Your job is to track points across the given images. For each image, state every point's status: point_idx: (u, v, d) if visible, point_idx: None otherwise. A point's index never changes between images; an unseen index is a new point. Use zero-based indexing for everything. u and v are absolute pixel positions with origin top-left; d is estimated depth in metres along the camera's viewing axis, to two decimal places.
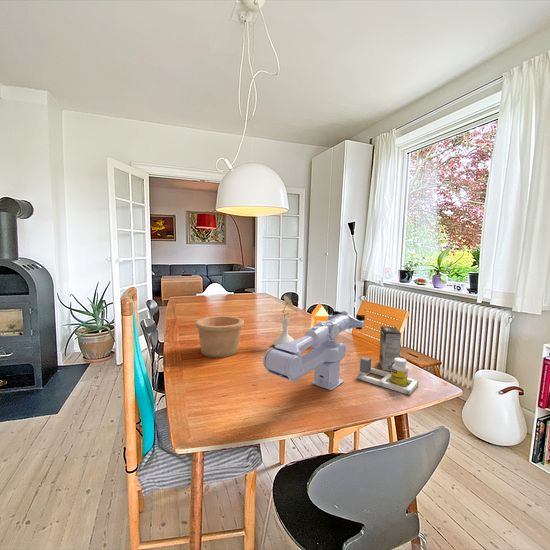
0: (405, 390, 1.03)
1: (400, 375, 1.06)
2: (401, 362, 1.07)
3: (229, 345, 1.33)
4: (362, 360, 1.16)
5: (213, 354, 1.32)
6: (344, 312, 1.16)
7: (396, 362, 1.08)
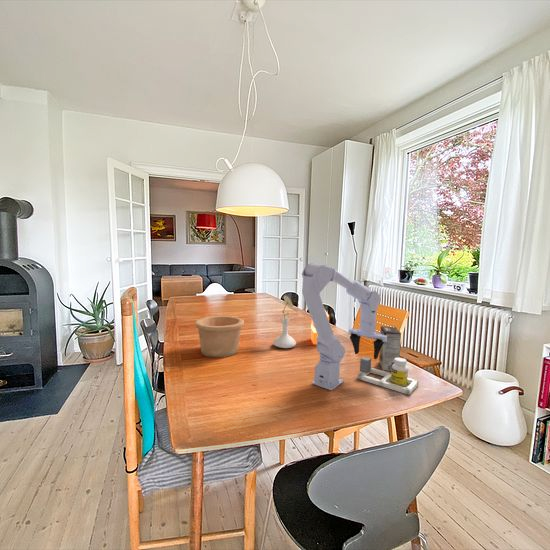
0: (405, 390, 1.03)
1: (400, 375, 1.06)
2: (401, 362, 1.07)
3: (229, 345, 1.33)
4: (362, 360, 1.16)
5: (213, 354, 1.32)
6: None
7: (396, 362, 1.08)
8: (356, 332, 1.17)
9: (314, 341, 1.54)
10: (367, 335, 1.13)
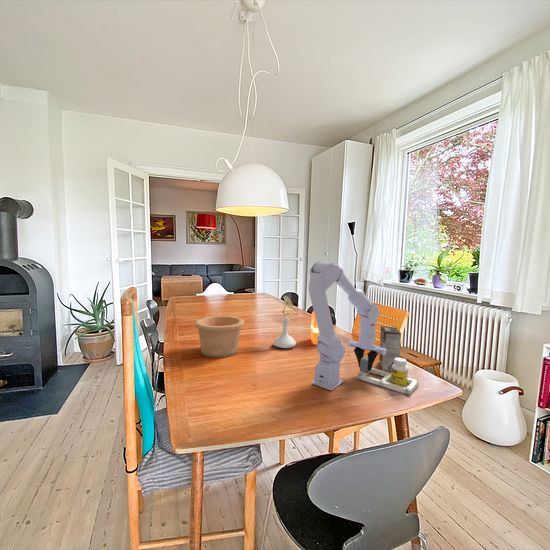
0: (405, 390, 1.03)
1: (400, 375, 1.06)
2: (401, 362, 1.07)
3: (229, 345, 1.33)
4: (362, 360, 1.16)
5: (213, 354, 1.32)
6: None
7: (396, 362, 1.08)
8: (355, 344, 1.17)
9: (314, 341, 1.54)
10: (366, 348, 1.14)
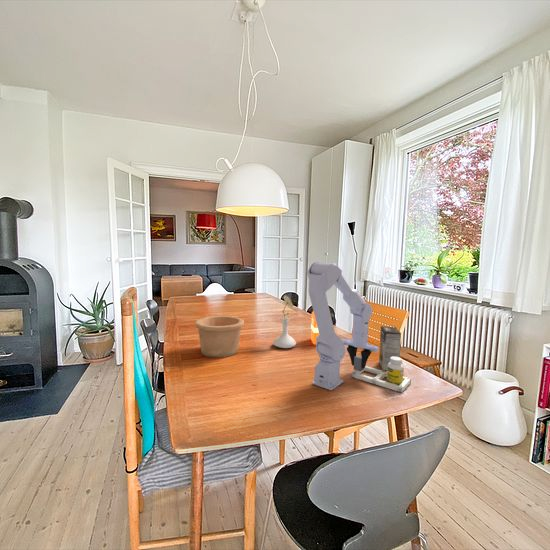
0: (397, 388, 1.05)
1: (395, 374, 1.07)
2: (397, 361, 1.08)
3: (229, 345, 1.33)
4: (356, 358, 1.18)
5: (213, 354, 1.32)
6: None
7: (392, 361, 1.09)
8: (349, 343, 1.19)
9: (314, 341, 1.54)
10: (359, 346, 1.15)
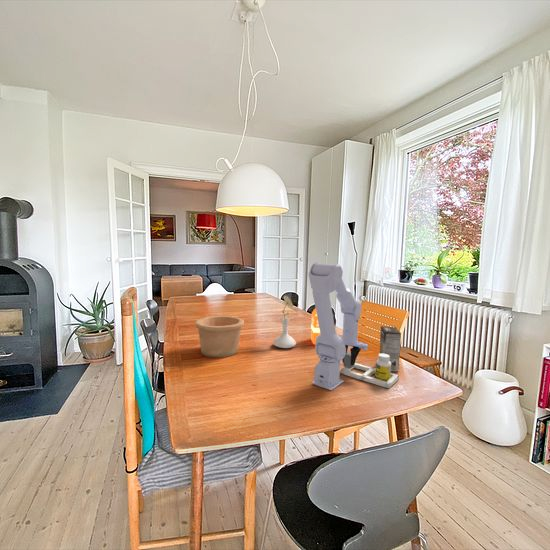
0: (385, 384, 1.07)
1: (383, 370, 1.10)
2: (384, 358, 1.10)
3: (229, 345, 1.33)
4: (345, 355, 1.21)
5: (213, 354, 1.32)
6: None
7: (380, 358, 1.11)
8: None
9: (314, 341, 1.54)
10: (349, 344, 1.18)
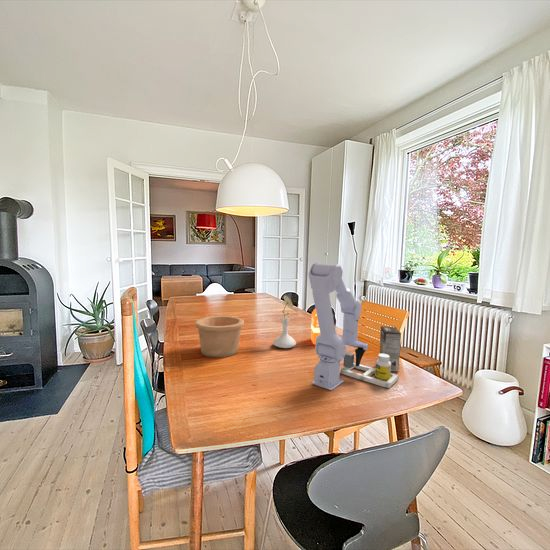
0: (384, 384, 1.07)
1: (383, 370, 1.10)
2: (384, 358, 1.10)
3: (229, 345, 1.33)
4: (345, 355, 1.21)
5: (213, 354, 1.32)
6: None
7: (379, 358, 1.12)
8: None
9: (314, 341, 1.54)
10: (349, 343, 1.18)
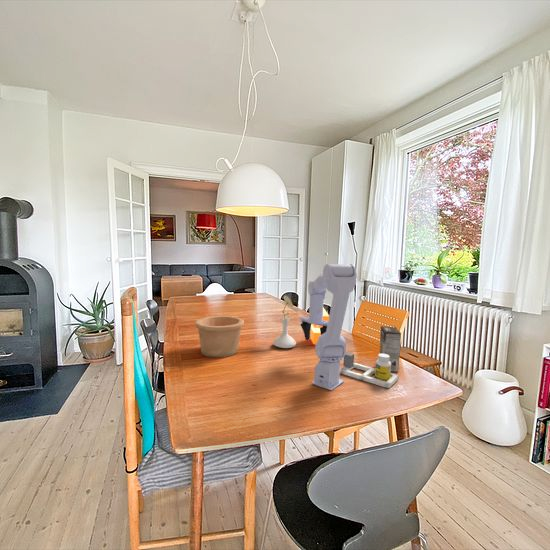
0: (384, 384, 1.07)
1: (383, 370, 1.10)
2: (384, 358, 1.10)
3: (229, 345, 1.33)
4: (345, 355, 1.21)
5: (213, 354, 1.32)
6: None
7: (379, 358, 1.12)
8: (306, 320, 1.28)
9: (314, 341, 1.54)
10: (314, 322, 1.24)
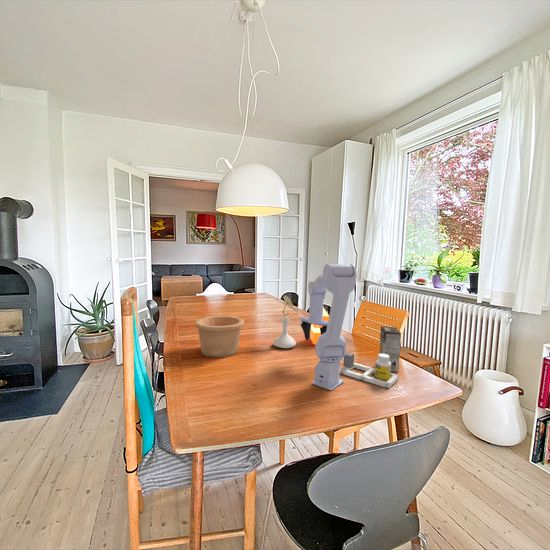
0: (384, 384, 1.07)
1: (383, 370, 1.10)
2: (384, 358, 1.10)
3: (229, 345, 1.33)
4: (345, 355, 1.21)
5: (213, 354, 1.32)
6: None
7: (379, 358, 1.12)
8: (306, 320, 1.28)
9: (314, 341, 1.54)
10: (314, 322, 1.24)
